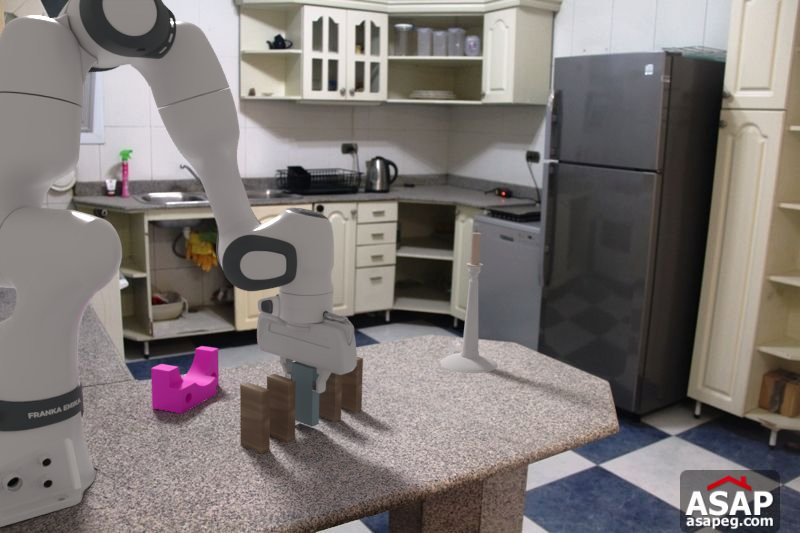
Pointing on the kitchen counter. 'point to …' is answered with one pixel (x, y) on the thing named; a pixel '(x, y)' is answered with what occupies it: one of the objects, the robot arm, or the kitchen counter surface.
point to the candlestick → (471, 324)
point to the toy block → (185, 382)
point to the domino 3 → (305, 394)
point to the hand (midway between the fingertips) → (305, 387)
